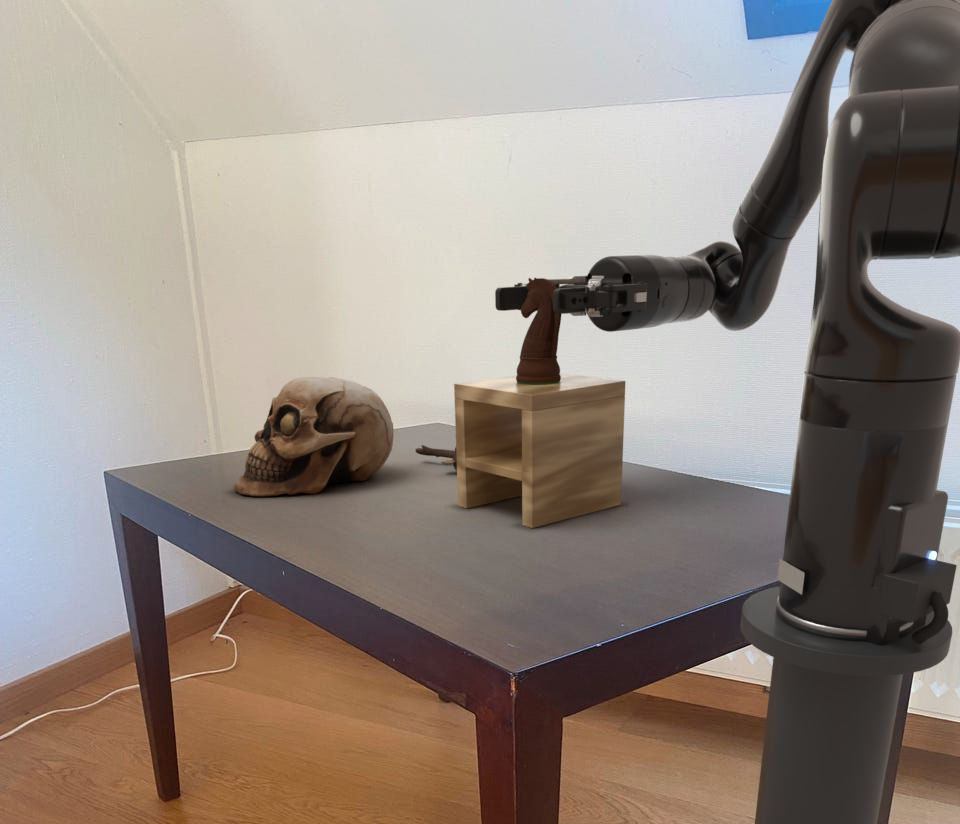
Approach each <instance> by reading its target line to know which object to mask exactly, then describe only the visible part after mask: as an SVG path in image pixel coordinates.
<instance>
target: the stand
mask: <svg viewBox="0 0 960 824" xmlns="http://www.w3.org/2000/svg"><path fill="white" fill-rule="evenodd" d="M516 376H517V374H515V375H510V376H502V377H494V378H487V379H478V380H471V381H465V382H459V383H458V382H457V383H454V384H453V391H454V392H453V393H454V421H455V422H454V423H455V425H454V426H455V447H456V454H457V471H456V478H457V479H456V481H457V482H456V483H457V505H458V507H460V508H463V509H471V508H475V507H478V506H484V505H487V504H492V503H495V502H496V503H497V502H500V501H505V500H509V499H513V498H517V497H521V502H522V503H521V505H522V506H521V507H522V508H521V509H522V512H521V513H522V515H521V516H522V520H521V521H522V524H521V525H522V526H524V527H527V528H530V529H534V528H539V527H543V526H546V525H550V524H553V523H554V524H555V523H557V522H562V521H565V520H568V519H572V518H576V517H579V516H583V515H588V514H591V513H595V512H598V511H603V510H606V509H609V508H614V507H617V506H621V505H622V485H623V484H622V483H623V461H624V460H623V458H624V432H625V410H626V409H625V406H626V380H621V379H612V378H603V377H595V376H594V377H593V376H588V375H580V374H579V375H578V374H570V373H561V372H560V376H561V380H560V382H558V383H554V384H544V385H529V384H520V383H517V381H516Z"/></svg>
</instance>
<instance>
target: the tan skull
mask: <svg viewBox="0 0 960 824" xmlns="http://www.w3.org/2000/svg"><path fill="white" fill-rule="evenodd" d="M254 441H255V443H254V444H253V445H252V446H251V447H250V449H249V451H248V453H247V457H246V458H245V465H244V469H245V470H244V472H243V475H240V477H239V478H238V479H237V481H236V482H235V484H234V488H233V491H235V492H237V493H238V494H240V495H244V496H251V497H275V496H276V497H277V496H280V495H290V496H292V495H297V494H300V493H301V494H318V493H320V492H321V491H323V490H324V489H325V488H326V486H327V485H332V484H333V485H334V484H337V483H343V482H344V483H349V482H363V481H366V480H368V479H370V478H371V477H372V476H373V475H374V474H376V473H377V472H379V471H380V470H381V469H382V468H383V467H384V466H385V464H386V461H388V458H389V456H390V455H391V452H392V451H393V446H394V423H393V420H392V417H391V413H390V411H389V410H388V408H387V405H386V404H385V403H384V401H383V399H382V398H381V397H380V396H379V394H378V393H376V392H375V391H374V390H373V389H372V388H369V387H367V386H365V385H362V384H360V383H357V382H356V381H352V380H349V379H344V378H338V377H330V376H329V377H323V376H303V377H302V376H301V377H296V378H293V379H291V380H289V381H288V382H287V383H285V384H284V385H283V386H282V388H281V390H280V391H279V393H278V395H277V396H276V397H272V399H271V404H270V408H269V411H268V414H267V418H266V420H265V422H264V424H263V429H260V430H258V431H257V432H256V433H255V435H254Z"/></svg>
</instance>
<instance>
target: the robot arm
mask: <svg viewBox="0 0 960 824" xmlns="http://www.w3.org/2000/svg"><path fill="white" fill-rule="evenodd" d="M846 52H849V53H852V54H853V55H852V58H851V63H850V67H849V74H848V98H846V99H845V100H844V101H843V102H842V103H841V104H840V106H839V107H838V109H837V110H836V112H835V115H834V117H833V118H832V121H831V124H830V126H829V112H830V99H831V98H830V97H831V92H832V87H833V83H834V78H835V76H836V72H837V69H838V68H839V65H840V62H841V61H842V58H843V56H844V54H845V53H846ZM819 197H820V198H819ZM818 199H819V211H818V212H819V213H818V214H819V215H818V216H819V217H818V229H817V230H818V231H817V248H816V266H815V267H816V268H815V279H814V292H813V300H812V309H811V318H810V325H809V333H808V340H807V347H806V354H805V362H804V370H805V371H804V372H803V377H802V378H803V379H802V387H801V394H800V395H801V396H800V404H799V414H798V420H797V421H798V422H797V431H796V438H795V447H794V448H795V449H794V457H793V467H792V476H791V485H790V486H791V487H790V494H789V501H788V503H789V504H788V509H787V511H788V512H787V520H786V530H785V537H784V546H783V557H782V558H779V561H778V570H777V581H779V586H780V593H779V596H778V598H777V606H776V612H777V615H778V616H779V617H780V618H781V619H782V620H783V621H784V622H786V623H787V624H789V625H791V626H793V627H795V628H797V629H799V630H802V631H805V632H808V633H811V634H815V635H819V636H823V637H828V638H834V639H841V640H853V641H865V642H869V643H873V644H876V645H885V644H887V643H889V642H891V641H893V640H895V639H897V638H899V637H901V636H903V635H905V634H907V633H909V632H910V631H912V630H914V629H916V628H918V627H920V626H922V625H923V624H925V623H926V618H927V615H928V614H929V613H931V612H933V611H934V618H933V620H932V621H931V622H930V623H929V624H928V625H927V626H925V627H923V628H921V629H920V630H918V631H916V632H915V633H914V634H912V639H913V640H914V641H915V642H916V643H918V644H922V643H923V642H924V641H926V640H928V639H929V638H931V637H933V636H935V635H936V634H938V633H939V632H940V631H941V630H942V629H943V628H944V627H945V625H946V623H947V620H948V619H949V609H948V605H949V604H950V603H951V597H952V592H953V586H954V583H955V582H954V581H955V576H956V573H957V567H958V565H957V564H955V563H954V564H953V563H950V562H945V561H941V560H938V557H939V556H938V555H939V552H940V551H939V550H940V545H941V541H942V540H941V539H942V535H943V530H944V529H943V528H944V524H945V518H946V512H947V508H948V507H947V506H948V502H949V494H948V493H947V492H946V491H944V490H940V489H938V484H939V478H940V472H941V466H942V460H943V456H944V455H943V454H944V451H945V450H944V449H945V444H946V443H945V442H946V437H947V432H948V425H949V421H950V415H951V409H952V403H953V399H954V398H953V397H954V393H955V386H956V381H957V374H958V373H959V369H960V368H959V366H960V330H959V329H958V328H957V327H955V326H954V325H952V324H950V323H947V322H946V321H943V320H940V319H937V318H933V317H930V316H929V315H925V314H922V313H919V312H916V311H914V310H911V309H909V308H907V307H904V306H903V305H901V304H899V303H897V302H895V301H894V300H892V299H891V298H890V297H888V296H886V295H885V294H884V293H882V292H881V290H879V289H878V288H877V287H876V286H875V285H874V283H873V282H872V281H871V280H870V277H869V273H868V268H869V267H868V266H869V264H870V263H871V261H891V260H892V261H893V260H894V261H895V260H896V261H898V260H930V259H932V260H935V259H936V260H937V259H938V260H941V259H942V260H943V259H950V258H951V259H953V258H958V257H960V0H831V2H830V5H829V7H828V9H827V11H826V14H825V16H824V19H823V21H822V22H821V25H820V27H819V30H818V32H817V34H816V36H815V39H814V41H813V43H812V46H811V48H810V50H809V53H808V55H807V57H806V60H805V62H804V63H803V66H802V69H801V72H800V73H799V76H798V79H797V81H796V84H795V86H794V88H793V91H792V93H791V95H790V98H789V100H788V102H787V105H786V108H785V110H784V113H783V115H782V118H781V121H780V123H779V126H778V128H777V131H776V133H775V135H774V138H773V140H772V142H771V144H770V147H769V149H768V151H767V154H766V155H765V158H764V159H763V161H762V163H761V165H760V167H759V168H758V172H757V173H756V174H755V176H754V178H753V180H752V182H751V184H750V185H749V187H748V189H747V191H746V193H745V195H744V196H743V198H742V200H741V202H740V204H739V205H738V208H737V210H736V211H735V214H734V216H733V219H732V221H731V231H732V235H733V238H734V239H735V242H736V244H737V245H736V244H733V243H732V242H729V241H725V240H716V241H713V242H709V243H708V244H707V245H705V246H703V247H701V248H699V249H697V250H695V251H692V252H690V253H688V254H686V255H675V256H663V255H657V254H636V255H609V256H605V257H602V258H601V259H598V261H597V262H595V263H594V264H593V266H592V267H591V268H590V269H589V272H588V273H587V274H586V275H571V276H570V277H568V278H546V279H547V280H550V281H551V282H553V283H554V284H555V286H556V287H557V289H555V290H554V292H553V311H554V312H555V313H560V314H561V315H565V314H569V315H571V316H573V317H584V316H587V317H588V319H589V320H590V322H591V323H592V324H593V325H594V326H595V327H596V328H598V329H599V330H601V331H604V332H609V333H612V332H621V331H631V330H642V329H650V328H656V327H659V326H662V325H666V324H674V323H685V322H691V321H694V320H697V319H699V318H701V317H703V316H704V315H705V314H707V312H709V313H710V314H711V316H712V317H713V318H714V319H715V320H716V321H717V323H718V324H720V325H721V327H723V328H724V329H725V330H728V331H732V332H740V331H745V330H746V329H748V328H751V327H753V326H754V325H755V324H756V323H758V322H759V321H760V320H761V319H762V318H763V317H764V315H765V314H766V312H767V311H768V309H769V308H770V306H771V304H772V302H773V300H774V298H775V295H776V293H777V290H778V286H779V283H780V280H781V276H782V272H783V271H784V270H783V269H784V266H785V264H786V260H787V257H788V253H789V250H790V246H791V244H792V242H793V240H794V238H795V237H796V235H797V233H798V232H799V231H800V228H801V227H802V225H803V224H804V222H805V220H806V219H807V217H808V216H809V214H810V212H811V211H812V209H813V207H814V206H815V204H816V202H817V201H818ZM528 283H529V282H526V283H523V282H517V284H514V285H513V286H504V287H502V286H501V287H496V289H495V294H494V295H495V296H494V297H495V298H494V302H495V303H494V304H495V309H496V310H497V311H502V312H504V311H505V312H506V311H521V307H522V306H523V304H524V302H525V300H526V298H527V293H528V292H529V291H530V290H529V289H528V287H527V284H528ZM948 621H949V620H948Z"/></svg>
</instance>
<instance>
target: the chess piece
mask: <svg viewBox="0 0 960 824" xmlns="http://www.w3.org/2000/svg"><path fill="white" fill-rule="evenodd" d="M547 279H548V278H544V277H543V278H542V277H541V278H537V277H534V278H533V279H532V278H531V277H529V278H528V279H527V281H528V282H527V283H528V284H527V287H528V289H529V290H530V291H529V292H528V293H527V298H526V300H525V302H524V304H523V306H522V307H521V310H520V313H521V316H522V317H523V318H524V319H528V318H529V317H530V316H531V315H532V314H534V313H536V314H535V315H534V317H533V319H532V321H531V322H530V325H529V327H528V328H527V331H526V334H525V336H524V338H523V342H522V345H521V349H520V355H519V362H518V365H517V368H516V375H517V376H516V375H515V376H516V381H517V383H520V384H529V385H544V384H554V383H558V382H560V380H561V376H560V373H561V367H560V364H559V362H558V360H557V359H558V355H557V354H558V348H559V347H558V346H559V335H560V330H561V329H560V328H561V321H562V314H560V313H555V312H554V311H553V292H554V290H555V289H557V287H556V286H555V284H554V283H553V282H551V281H550V280H547Z"/></svg>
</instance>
